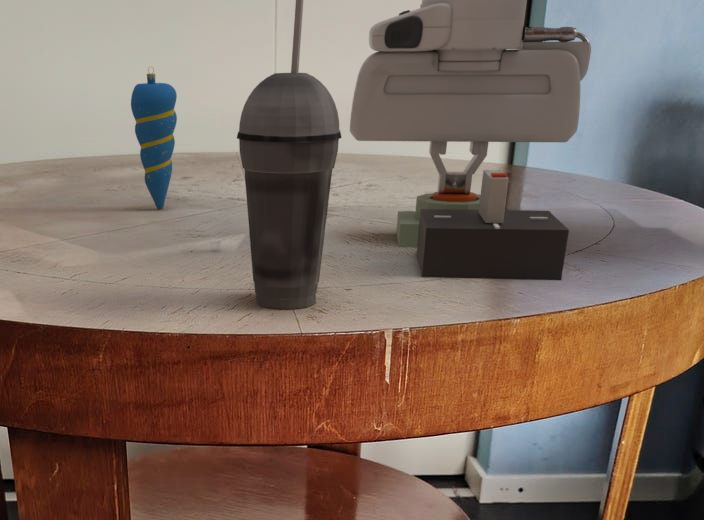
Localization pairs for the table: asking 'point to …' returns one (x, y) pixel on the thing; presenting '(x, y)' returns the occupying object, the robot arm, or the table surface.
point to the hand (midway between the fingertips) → (453, 193)
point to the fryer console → (491, 245)
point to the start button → (454, 197)
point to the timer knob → (493, 196)
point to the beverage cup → (288, 180)
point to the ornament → (155, 133)
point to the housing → (410, 219)
